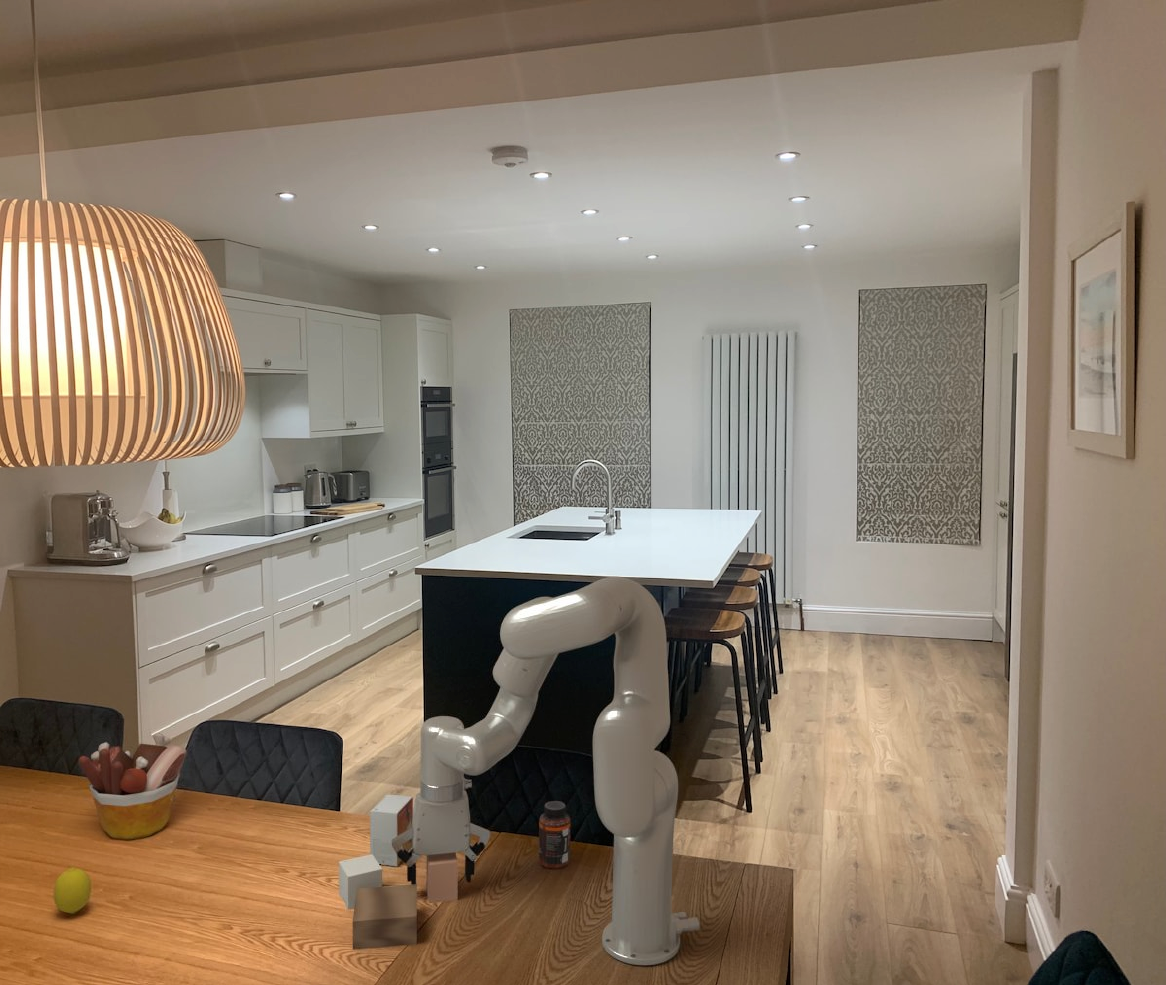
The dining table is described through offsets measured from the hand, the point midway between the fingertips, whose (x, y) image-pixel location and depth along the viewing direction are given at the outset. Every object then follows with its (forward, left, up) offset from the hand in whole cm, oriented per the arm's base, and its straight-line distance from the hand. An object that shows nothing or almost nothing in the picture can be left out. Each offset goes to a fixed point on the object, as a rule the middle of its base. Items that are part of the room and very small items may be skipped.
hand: (440, 881), depth 161 cm
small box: (+8, -16, -3) cm, 18 cm away
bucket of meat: (+58, -38, -3) cm, 69 cm away
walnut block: (+10, +9, -3) cm, 14 cm away
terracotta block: (0, 0, -2) cm, 2 cm away
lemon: (+61, -7, -3) cm, 61 cm away
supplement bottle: (-22, -7, -3) cm, 23 cm away
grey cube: (+14, -2, -2) cm, 14 cm away
